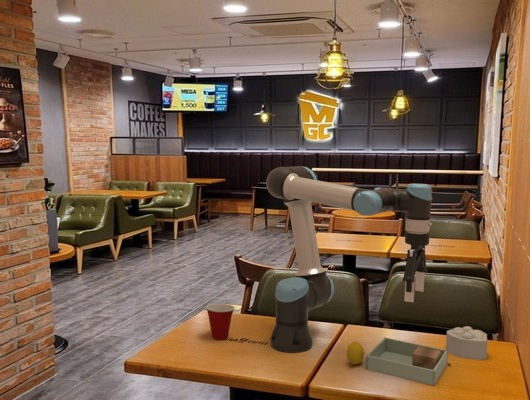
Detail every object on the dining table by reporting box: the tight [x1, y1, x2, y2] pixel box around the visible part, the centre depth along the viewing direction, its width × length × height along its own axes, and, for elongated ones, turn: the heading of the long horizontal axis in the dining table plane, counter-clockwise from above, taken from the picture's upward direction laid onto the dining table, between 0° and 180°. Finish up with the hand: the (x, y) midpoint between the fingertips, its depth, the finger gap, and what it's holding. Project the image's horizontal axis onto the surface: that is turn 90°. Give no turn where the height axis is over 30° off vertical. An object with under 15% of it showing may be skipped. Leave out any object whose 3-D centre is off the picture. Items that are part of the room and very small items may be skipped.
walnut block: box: [412, 346, 441, 370], centre depth 157 cm, size 7×7×6 cm
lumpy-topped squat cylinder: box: [445, 325, 488, 361], centre depth 171 cm, size 10×13×9 cm
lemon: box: [346, 341, 365, 366], centre depth 162 cm, size 6×6×8 cm
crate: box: [365, 337, 449, 386], centre depth 160 cm, size 21×18×5 cm
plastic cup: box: [205, 303, 235, 341], centre depth 186 cm, size 11×11×12 cm
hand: (414, 296), depth 162 cm, fingers open, 13 cm apart
